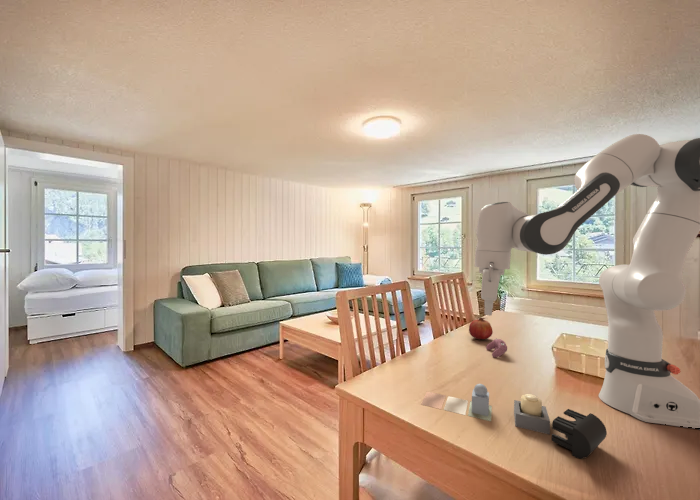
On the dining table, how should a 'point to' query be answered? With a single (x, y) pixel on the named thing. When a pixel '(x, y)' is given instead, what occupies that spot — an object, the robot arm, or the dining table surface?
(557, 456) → the dining table surface
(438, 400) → the game board
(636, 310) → the robot arm
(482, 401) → the pawn
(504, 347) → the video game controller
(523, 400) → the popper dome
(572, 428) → the end cap
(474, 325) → the fruit
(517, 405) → the box
